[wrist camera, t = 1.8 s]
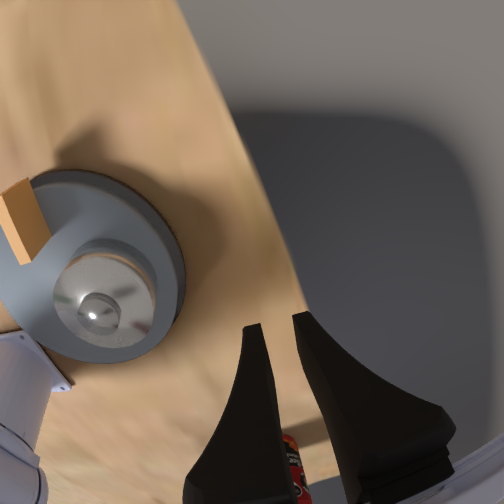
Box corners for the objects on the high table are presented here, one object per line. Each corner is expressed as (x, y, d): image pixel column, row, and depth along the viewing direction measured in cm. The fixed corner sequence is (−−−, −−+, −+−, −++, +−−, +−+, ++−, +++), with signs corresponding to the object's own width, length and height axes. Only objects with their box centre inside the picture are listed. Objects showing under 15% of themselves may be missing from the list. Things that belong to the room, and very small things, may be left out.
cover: (93, 325, 20) (80, 362, 17) (53, 252, 17) (30, 285, 14) (171, 309, 20) (167, 348, 17) (137, 226, 17) (124, 259, 14)
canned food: (301, 447, 37) (320, 517, 27) (246, 462, 37) (258, 531, 28) (286, 426, 33) (307, 509, 23) (223, 443, 34) (233, 524, 24)
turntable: (203, 336, 23) (205, 380, 19) (54, 361, 23) (41, 397, 19) (131, 134, 16) (110, 148, 12) (-34, 208, 15) (-67, 235, 12)
